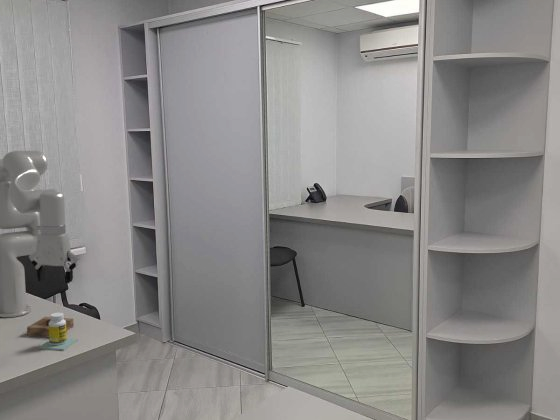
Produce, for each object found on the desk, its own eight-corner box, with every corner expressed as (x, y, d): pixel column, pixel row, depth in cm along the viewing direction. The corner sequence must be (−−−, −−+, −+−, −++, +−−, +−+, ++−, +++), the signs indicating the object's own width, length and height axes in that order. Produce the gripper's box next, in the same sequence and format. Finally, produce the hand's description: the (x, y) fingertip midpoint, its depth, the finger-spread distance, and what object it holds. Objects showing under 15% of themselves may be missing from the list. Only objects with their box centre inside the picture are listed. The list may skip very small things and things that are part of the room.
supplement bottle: (61, 346, 180) (59, 317, 179) (46, 345, 181) (44, 316, 180) (70, 340, 185) (68, 312, 184) (55, 338, 186) (54, 311, 185)
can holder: (27, 335, 191) (27, 327, 190) (45, 324, 202) (45, 316, 201) (56, 337, 189) (56, 329, 189) (73, 326, 200) (73, 318, 199)
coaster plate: (38, 348, 179) (38, 347, 179) (53, 338, 188) (53, 337, 188) (63, 350, 178) (63, 349, 178) (78, 340, 187) (78, 338, 187)
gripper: (21, 230, 175) (24, 282, 178) (71, 233, 173) (73, 286, 175) (35, 226, 183) (37, 276, 185) (83, 229, 180) (85, 279, 183)
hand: (55, 281), depth 180 cm, fingers open, 9 cm apart
